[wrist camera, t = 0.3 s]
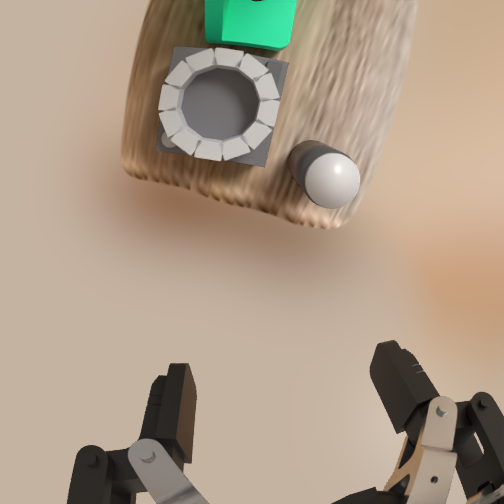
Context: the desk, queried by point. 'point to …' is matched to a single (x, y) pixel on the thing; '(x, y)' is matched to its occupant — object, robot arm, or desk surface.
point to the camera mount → (250, 23)
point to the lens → (324, 174)
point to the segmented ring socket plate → (220, 104)
